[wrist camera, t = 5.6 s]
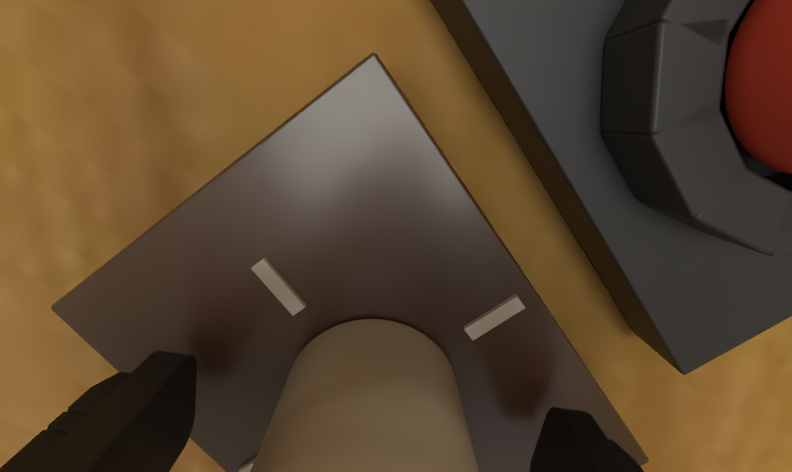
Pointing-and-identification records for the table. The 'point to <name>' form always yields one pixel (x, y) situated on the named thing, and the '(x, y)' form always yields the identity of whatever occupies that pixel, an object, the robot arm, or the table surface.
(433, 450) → the lock dial
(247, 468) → the dial panel
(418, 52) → the table surface
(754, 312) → the button housing
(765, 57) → the red push button
